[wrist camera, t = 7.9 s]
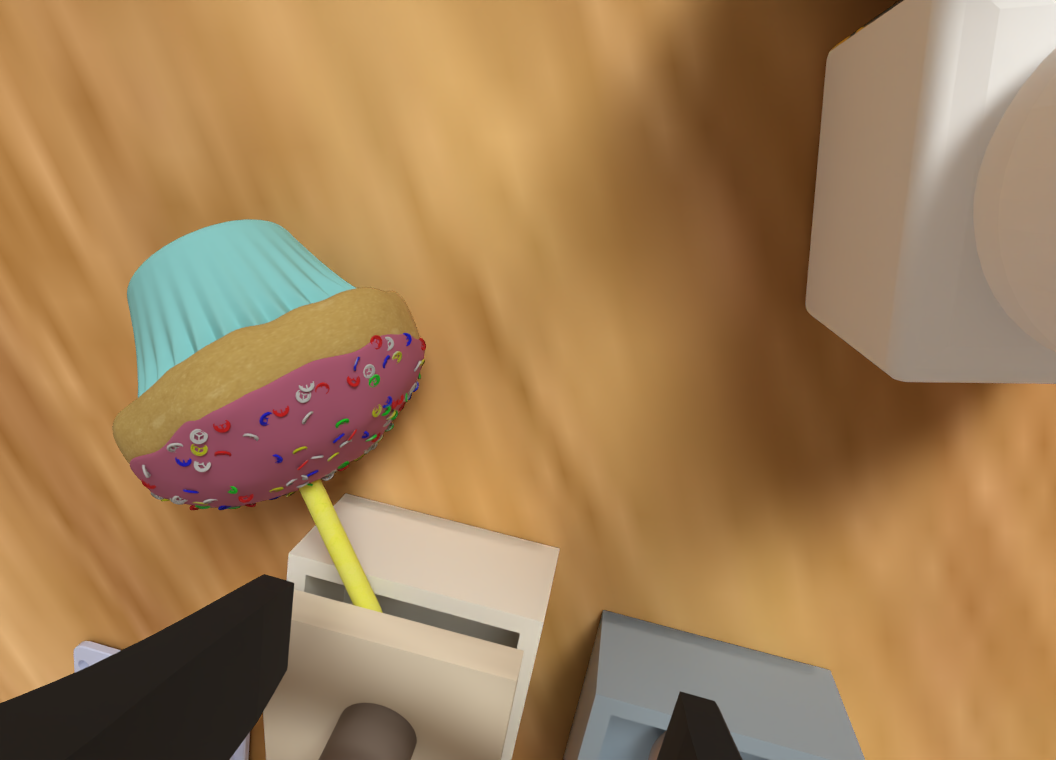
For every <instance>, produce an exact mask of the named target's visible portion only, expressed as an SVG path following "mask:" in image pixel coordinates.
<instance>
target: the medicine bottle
mask: <svg viewBox="0 0 1056 760" xmlns="http://www.w3.org/2000/svg"><path fill="white" fill-rule="evenodd" d="M805 305H806V310H807V311H808V313H809V314H810V315H812V316H813V317H814V318H815V319H817V320H818V321H819V322H821V323H822V324H823V325H825V326H826V327H827V328H828V329H830V330H831V331H832V332H834V333H835V334H836V335H837V336H839V337H840V338H841V339H843V340H844V341H845V342H847V343H848V344H849V345H850V346H852V347H853V348H854V349H856V350H857V351H858V352H859V353H861V354H862V355H863V356H865V357H866V358H867V359H869V360H870V361H871V362H872V363H874V364H875V365H876V366H878V367H879V368H880V369H881V370H883V371H884V372H885V373H887V374H888V375H889V376H891V377H892V378H893V379H895V380H899V381H903V382H945V383H1038V384H1056V0H900V1H898V2H897V3H895V4H894V5H893V6H891V7H890V8H888V9H887V10H885V11H884V12H883V13H881V14H880V15H878V16H877V17H875V18H874V19H873V20H871V21H870V22H868V23H867V24H865V25H864V26H863V27H861V28H860V29H858V30H857V31H855V32H854V33H853V34H851V35H850V36H848V37H847V38H845V39H844V40H843V41H841V42H840V43H838V44H837V45H835V46H834V48H833V49H832V50H831V51H830V52H829V54H828V57H827V61H826V72H825V84H824V95H823V107H822V118H821V130H820V141H819V153H818V164H817V176H816V187H815V199H814V210H813V222H812V233H811V245H810V256H809V268H808V279H807V291H806V302H805Z"/></svg>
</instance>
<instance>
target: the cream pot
mask: <svg viewBox="0 0 1056 760" xmlns="http://www.w3.org/2000/svg"><path fill="white" fill-rule="evenodd" d="M333 507H334V509H335V511H336V513H337V515H338V518H339V520H340V522H341V524H342V526H343V528H344V530H345V532H346V535H347V537H348V539H349V541H350V543H351V545H352V547H353V549H354V551H355V554H356V556H357V558H358V560H359V562H360V564H361V566H362V568H363V571H364V573H365V575H366V577H367V579H368V581H369V583H370V585H371V588H372V590H373V592H374V594H375V596H376V598H377V600H378V602H379V605H380V607H381V609H382V611H383V613H385V614H388V615H392V616H396V617H400V618H403V619H407V620H411V621H415V622H418V623H422V624H426V625H429V626H433V627H437V628H441V629H444V630H448V631H452V632H456V633H459V634H463V635H467V636H470V637H474V638H478V639H482V640H485V641H489V642H493V643H497V644H500V645H504V646H508V647H512V648H515V649H519V650H523V651H524V653H523V658H522V663H521V668H520V672H519V677H518V682H517V687H516V691H515V696H514V701H513V706H512V710H511V715H510V720H509V724H508V729H507V734H506V739H505V743H504V748H503V753H502V758H501V760H511V759H512V755H513V750H514V746H515V742H516V738H517V734H518V729H519V725H520V721H521V717H522V712H523V708H524V704H525V700H526V695H527V691H528V687H529V683H530V678H531V674H532V670H533V666H534V661H535V657H536V653H537V649H538V644H539V640H540V636H541V632H542V627H543V623H544V619H545V614H546V610H547V605H548V600H549V596H550V591H551V587H552V582H553V578H554V573H555V568H556V564H557V559H558V555H559V550H560V549H559V548H556V547H552V546H548V545H544V544H540V543H536V542H532V541H528V540H525V539H521V538H517V537H513V536H509V535H505V534H501V533H497V532H494V531H490V530H486V529H482V528H478V527H474V526H470V525H466V524H463V523H459V522H455V521H451V520H447V519H443V518H439V517H435V516H432V515H428V514H424V513H420V512H416V511H412V510H408V509H404V508H400V507H397V506H393V505H389V504H385V503H381V502H377V501H373V500H369V499H366V498H362V497H358V496H354V495H350V494H346V493H345V494H344V496H343V497H342V498H341V499H340V500H339V501H338V502H337V503H336V504H335V505H334V506H333ZM287 581H290V582H293V583H294V589H295V590H299V591H303V592H306V593H310V594H314V595H317V596H321V597H325V598H329V599H332V600H336V601H340V602H344V603H347V604H351V605H353V603H352V601H351V599H350V597H349V594H348V592H347V590H346V588H345V586H344V584H343V582H342V580H341V577H340V575H339V573H338V571H337V569H336V567H335V565H334V563H333V560H332V558H331V556H330V554H329V552H328V550H327V548H326V546H325V544H324V541H323V539H322V537H321V535H320V533H319V531H318V529H317V527H316V525H315V526H314V527H313V528H312V529H311V530H310V531H309V532H308V534H307V535H306V536H305V537H304V538H303V539H302V540H301V541H300V542H299V543H298V544H297V545H296V546H295V547H294V548H293V549H292V550H291V552H290V553H289V557H288V570H287Z"/></svg>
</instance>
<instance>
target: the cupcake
mask: <svg viewBox="0 0 1056 760" xmlns="http://www.w3.org/2000/svg"><path fill="white" fill-rule="evenodd" d="M127 299H128V304H129V309H130V314H131V320H132V325H133V331H134V338H135V345H136V355H137V368H138V398H137V399H136V400H135V401H133V402H132V403H131V404H129V405H128V406H127V407H126V408H124V409H123V410H122V411H121V412H120V413H118V415H117V416H116V418H115V419H114V422H113V435H114V439H115V441H116V443H117V445H118V447H119V449H120V451H121V452H122V454H123V456H124V457H125V459H126V460H127V461H128V463H129V464H130V467H131V469H132V471H133V472H134V473H135V475H136V476H137V477H138V478H139V479H140V480H141V481H142V484H143V485H144V486H145V487H147V488H148V489H149V490H150V491H151V495H152V496H153V497H155V498H157V499H159V500H161V501H170V500H171V502H173V503H175V504H189V505H192V506H190V510H198V509H207V508H209V507H219V508H218V509H219V510H224V509H227V508H228V509H236V508H240V506H243V505H245V506H248V507H254V506H256V502H260V501H264V500H268V499H269V500H273V499H277V498H279V497H280V496H282V495H286V494H287V495H286V497H288V496H290V495H292V494H293V493H294V492H296V491H297V490H299V491H300V493H301V495H302V497H303V499H304V501H305V503H306V505H307V507H308V510H309V512H310V514H311V516H312V518H313V520H314V522H315V524H316V527H317V529H318V531H319V533H320V535H321V537H322V539H323V541H324V544H325V546H326V548H327V550H328V552H329V554H330V556H331V558H332V560H333V563H334V565H335V567H336V569H337V571H338V573H339V575H340V577H341V580H342V582H343V584H344V586H345V588H346V590H347V592H348V594H349V597H350V599H351V601H352V603H353V605H355V606H359V607H362V608H366V609H370V610H373V611H377V612H381V613H383V611H382V609H381V607H380V605H379V602H378V600H377V598H376V596H375V594H374V592H373V590H372V588H371V585H370V583H369V581H368V579H367V577H366V575H365V573H364V571H363V568H362V566H361V564H360V562H359V560H358V558H357V556H356V554H355V551H354V549H353V547H352V545H351V543H350V541H349V539H348V537H347V535H346V532H345V530H344V528H343V526H342V524H341V522H340V520H339V518H338V515H337V513H336V511H335V509H334V507H333V505H332V503H331V501H330V498H329V496H328V494H327V492H326V490H325V488H324V486H323V484H322V481H321V479H322V480H324V481H327V480H330V479H331V478H332V477H333V476H334V473H335V472H336V471H337V470H338V471H342V470H345V469H346V468H347V467H348V466H349V462H351V461H357V460H359V459H361V458H362V457H363V455H365V454H367V453H368V452H369V451H370V450H373V449H375V448H376V447H377V445H378V444H377V443H378V442H379V441H380V440H381V439H382V438H383V435H382V434H383V433H384V431H389V430H391V429H392V428H393V426H394V424H393V423H391V422H392V421H393V420H394V419H396V417H397V415H398V412H399V411H401V410H402V409H403V407H404V405H405V402H407V400H410V398H411V395H412V392H415V391H416V390H417V389H418V386H419V384H418V381H417V378H418V379H421V376H420V370H421V368H422V365H423V364H424V362H425V360H424V352H425V349H426V344H425V341H424V340H423V339H422V338H420V337H419V333H418V330H417V327H416V324H415V322H414V319H413V317H412V315H411V313H410V310H409V308H408V306H407V304H406V302H405V301H404V299H403V298H402V297H401V296H400V295H399V294H398V293H397V292H395V291H387V292H385V291H381V290H378V289H375V288H370V287H361V288H355V287H353V286H352V285H350V284H349V283H347V282H346V281H345V280H343V279H342V278H341V277H339V276H338V275H337V274H335V273H334V272H333V271H331V270H330V269H329V268H328V267H327V266H325V265H324V264H323V263H322V262H321V261H319V260H318V259H317V258H316V257H315V256H314V255H313V254H312V253H310V252H309V251H308V250H307V249H306V248H305V247H304V246H303V245H302V244H300V243H299V242H298V241H297V240H296V239H295V238H294V237H293V236H292V235H291V234H290V233H289V232H288V231H287V230H286V229H284V228H283V227H281V226H280V225H278V224H275V223H272V222H268V221H263V220H236V221H229V222H224V223H220V224H215V225H212V226H208V227H205V228H202V229H199V230H197V231H194V232H192V233H189V234H187V235H185V236H183V237H181V238H179V239H177V240H175V241H173V242H171V243H169V244H168V245H166V246H164V247H163V248H161V249H160V250H158V251H157V252H156V253H154V254H153V255H152V256H150V257H149V258H148V259H147V260H146V261H145V262H144V263H143V264H142V265H141V266H140V267H139V268H138V269H137V271H136V272H135V274H134V275H133V277H132V278H131V280H130V283H129V285H128V290H127ZM390 426H391V427H390ZM389 427H390V428H389ZM387 428H388V429H387ZM358 457H359V458H358ZM356 458H357V459H356ZM343 467H344V468H343ZM325 476H326V477H327V476H329V477H328V478H326V477H325ZM156 495H157V496H156ZM159 496H160V497H159ZM164 498H165V499H164ZM193 507H197V508H193ZM222 507H223V508H222Z"/></svg>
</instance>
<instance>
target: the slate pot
mask: <svg viewBox="0 0 1056 760" xmlns="http://www.w3.org/2000/svg"><path fill="white" fill-rule="evenodd" d="M680 691H681V692H685V693H688V694H692V695H695V696H699V697H702V698H706V699H709V700H713V701H715V702H716V704H717V705H718V707H719V709H720V711H721V713H722V715H723V718H724V720H725V722H726V724H727V727H728V729H729V731H730V733H731V735H732V738H733V740H734V742H735V744H736V746H737V748H738V751H739V753H740V755H741V757H742V759H743V760H865V758H864V756H863V753H862V751H861V748H860V745H859V743H858V740H857V738H856V735H855V733H854V730H853V727H852V725H851V722H850V720H849V717H848V715H847V712H846V710H845V707H844V704H843V702H842V699H841V697H840V694H839V692H838V689H837V686H836V684H835V681H834V679H833V676H832V674H831V671H830V670H827V669H824V668H820V667H816V666H812V665H809V664H805V663H801V662H797V661H793V660H790V659H786V658H782V657H778V656H775V655H771V654H767V653H763V652H760V651H756V650H752V649H748V648H745V647H741V646H737V645H733V644H730V643H726V642H722V641H718V640H714V639H711V638H707V637H703V636H699V635H696V634H692V633H688V632H684V631H681V630H677V629H673V628H669V627H666V626H662V625H658V624H654V623H651V622H647V621H643V620H639V619H636V618H632V617H628V616H624V615H620V614H617V613H613V612H609V611H605V610H603V612H602V616H601V620H600V623H599V627H598V631H597V634H596V638H595V642H594V646H593V649H592V653H591V657H590V660H589V664H588V668H587V671H586V675H585V679H584V683H583V686H582V690H581V694H580V697H579V701H578V705H577V708H576V712H575V716H574V720H573V723H572V727H571V731H570V734H569V738H568V742H567V745H566V749H565V753H564V757H563V760H648V757H649V753H650V750H651V748H652V746H653V744H654V742H655V741H656V740H657V738H658V737H659V736H660V735H661V734H663V733H664V732H665V731H667V728H668V725H669V722H670V719H671V716H672V713H673V710H674V707H675V704H676V701H677V698H678V695H679V692H680Z"/></svg>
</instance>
